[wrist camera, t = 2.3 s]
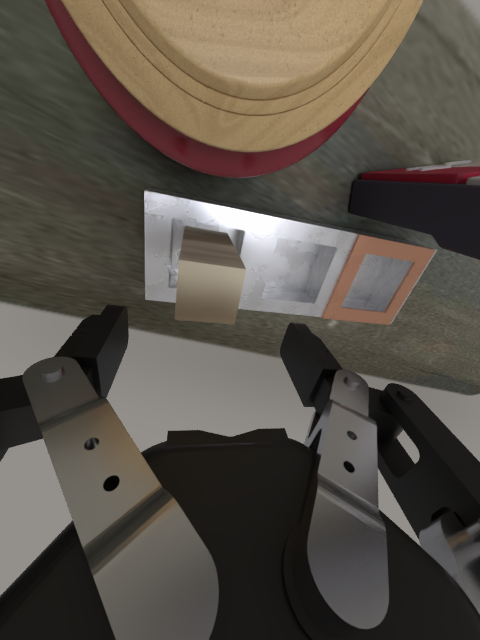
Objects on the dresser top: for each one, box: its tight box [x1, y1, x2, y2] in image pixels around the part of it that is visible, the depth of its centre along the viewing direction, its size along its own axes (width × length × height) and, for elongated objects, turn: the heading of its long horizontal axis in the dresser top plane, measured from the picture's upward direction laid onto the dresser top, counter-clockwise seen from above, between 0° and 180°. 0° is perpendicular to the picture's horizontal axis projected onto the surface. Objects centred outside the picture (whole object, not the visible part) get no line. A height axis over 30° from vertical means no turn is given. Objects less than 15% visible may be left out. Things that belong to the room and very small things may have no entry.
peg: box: [175, 226, 247, 324], centre depth 19 cm, size 4×4×10 cm
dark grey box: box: [349, 160, 480, 260], centre depth 18 cm, size 11×4×15 cm, turn 95°
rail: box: [144, 187, 437, 325], centre depth 24 cm, size 9×28×4 cm, turn 79°
